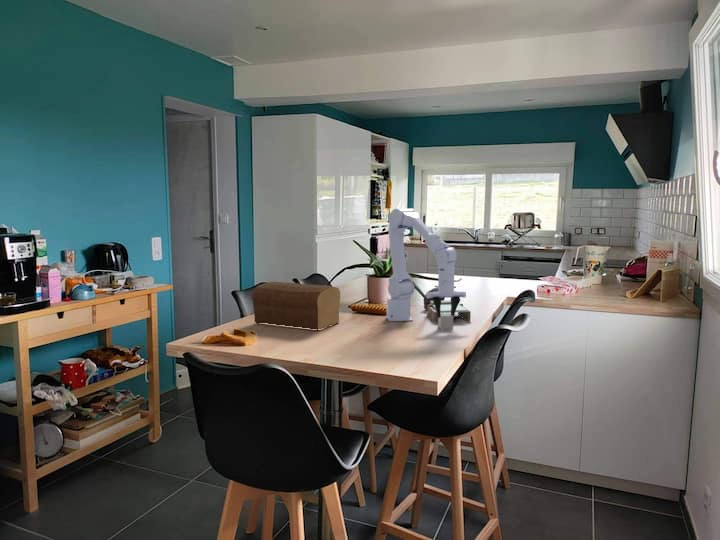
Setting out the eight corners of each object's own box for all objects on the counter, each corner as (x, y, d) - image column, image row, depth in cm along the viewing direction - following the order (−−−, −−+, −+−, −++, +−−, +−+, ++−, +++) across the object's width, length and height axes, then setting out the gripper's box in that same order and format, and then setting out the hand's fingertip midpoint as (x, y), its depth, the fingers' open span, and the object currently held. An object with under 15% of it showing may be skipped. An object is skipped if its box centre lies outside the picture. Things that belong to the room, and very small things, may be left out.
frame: (426, 315, 224) (427, 303, 224) (461, 314, 225) (461, 302, 225) (434, 322, 210) (434, 310, 210) (470, 321, 212) (470, 309, 211)
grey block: (441, 329, 199) (441, 316, 198) (438, 326, 203) (438, 313, 203) (453, 329, 199) (453, 315, 199) (450, 326, 204) (450, 313, 203)
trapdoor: (430, 306, 226) (430, 300, 226) (455, 305, 227) (455, 300, 227) (439, 314, 209) (439, 308, 209) (467, 314, 210) (467, 308, 210)
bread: (279, 316, 226) (278, 278, 224) (341, 323, 212) (341, 282, 210) (251, 325, 210) (250, 284, 208) (317, 333, 196) (316, 289, 194)
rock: (420, 312, 235) (443, 313, 232) (419, 294, 233) (442, 294, 230) (426, 304, 246) (448, 304, 242) (425, 286, 244) (447, 286, 240)
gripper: (429, 282, 195) (428, 319, 196) (468, 281, 196) (467, 318, 197) (425, 279, 201) (424, 315, 203) (463, 279, 203) (462, 314, 204)
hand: (445, 316), depth 201 cm, fingers closed on grey block, 4 cm apart
